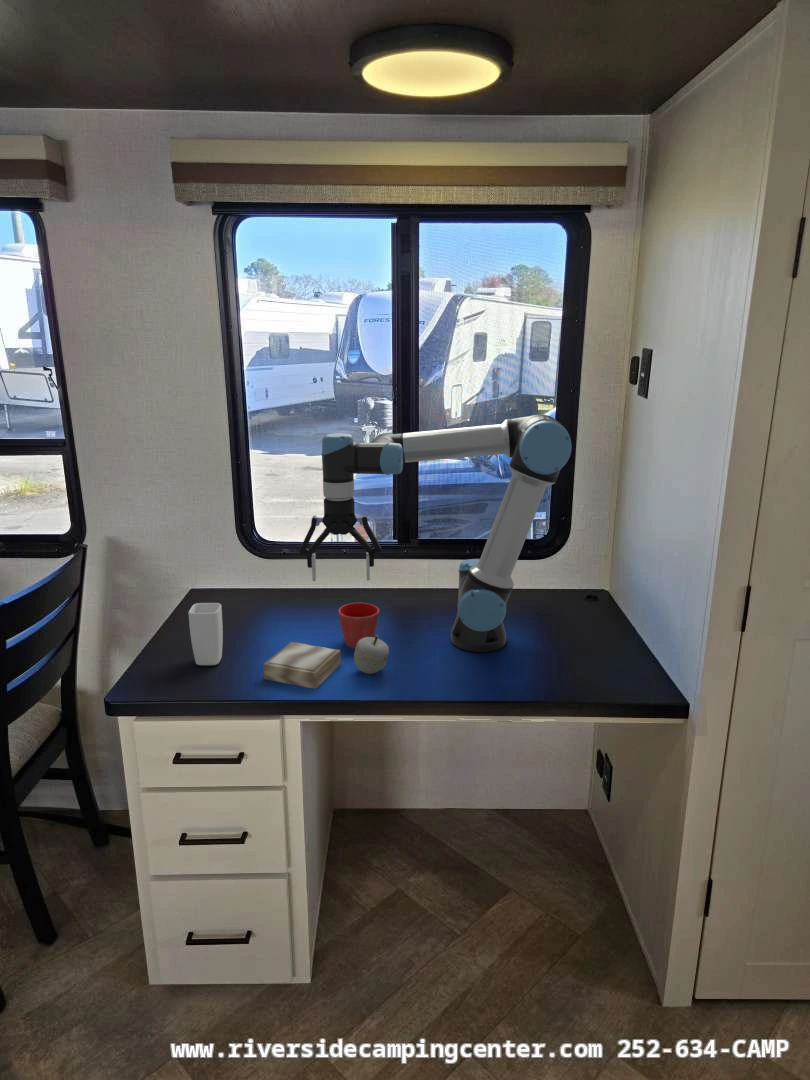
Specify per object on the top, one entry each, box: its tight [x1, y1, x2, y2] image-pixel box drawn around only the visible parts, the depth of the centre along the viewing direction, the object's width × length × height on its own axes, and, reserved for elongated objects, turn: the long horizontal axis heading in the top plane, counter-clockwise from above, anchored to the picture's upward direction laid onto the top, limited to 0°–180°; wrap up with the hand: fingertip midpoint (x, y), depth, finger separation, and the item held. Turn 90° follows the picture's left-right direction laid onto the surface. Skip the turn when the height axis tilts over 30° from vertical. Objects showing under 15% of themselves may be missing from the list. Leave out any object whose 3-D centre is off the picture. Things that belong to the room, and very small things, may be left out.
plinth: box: [263, 641, 342, 690], centre depth 183 cm, size 14×14×4 cm
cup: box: [187, 602, 224, 667], centre depth 186 cm, size 7×7×15 cm
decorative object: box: [353, 634, 390, 675], centre depth 182 cm, size 9×9×10 cm
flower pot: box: [338, 602, 380, 649], centre depth 199 cm, size 11×11×10 cm
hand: (341, 579), depth 186 cm, fingers open, 13 cm apart
